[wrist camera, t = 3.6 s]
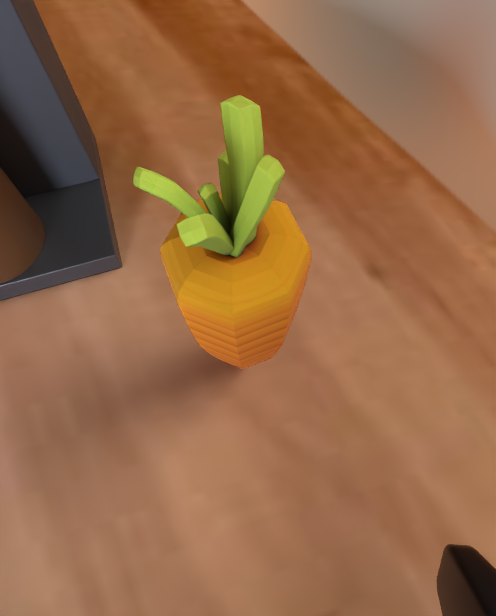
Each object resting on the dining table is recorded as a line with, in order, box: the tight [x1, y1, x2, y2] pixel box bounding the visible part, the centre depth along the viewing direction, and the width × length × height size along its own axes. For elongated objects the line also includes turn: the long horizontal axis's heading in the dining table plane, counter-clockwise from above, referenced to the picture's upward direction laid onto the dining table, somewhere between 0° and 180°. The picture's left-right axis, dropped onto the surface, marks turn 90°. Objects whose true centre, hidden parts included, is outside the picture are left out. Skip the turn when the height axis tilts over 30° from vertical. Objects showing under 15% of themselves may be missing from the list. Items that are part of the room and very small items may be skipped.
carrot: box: [133, 95, 311, 369], centre depth 16 cm, size 5×5×15 cm
